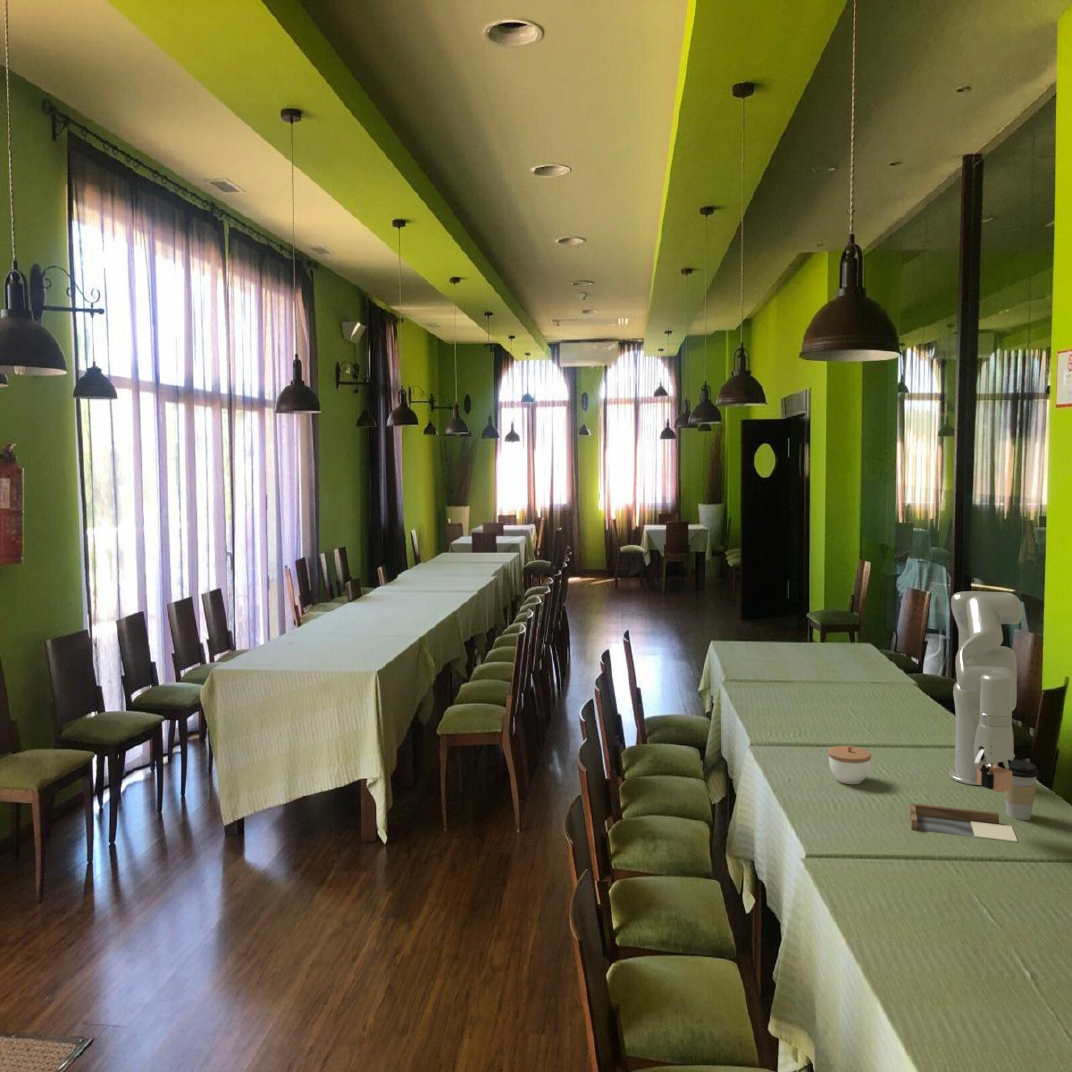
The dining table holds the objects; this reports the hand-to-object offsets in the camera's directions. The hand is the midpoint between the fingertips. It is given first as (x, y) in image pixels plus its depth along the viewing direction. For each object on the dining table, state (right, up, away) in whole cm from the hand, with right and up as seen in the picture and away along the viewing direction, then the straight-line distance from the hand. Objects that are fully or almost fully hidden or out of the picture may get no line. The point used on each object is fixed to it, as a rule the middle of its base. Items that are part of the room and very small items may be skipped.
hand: (993, 785), depth 231 cm
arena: (-6, -13, +4) cm, 15 cm away
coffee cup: (+13, -12, +11) cm, 21 cm away
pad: (0, -13, +1) cm, 13 cm away
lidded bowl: (-24, -11, +41) cm, 49 cm away
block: (0, 0, 0) cm, 0 cm away
